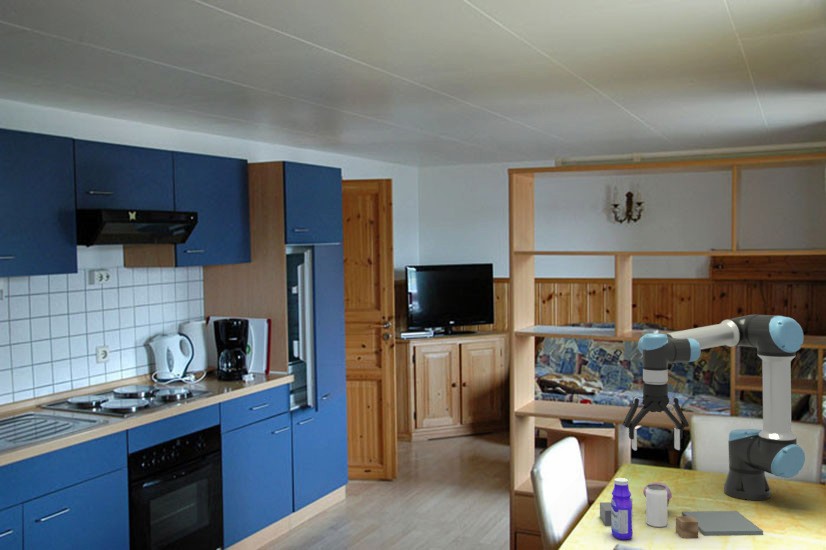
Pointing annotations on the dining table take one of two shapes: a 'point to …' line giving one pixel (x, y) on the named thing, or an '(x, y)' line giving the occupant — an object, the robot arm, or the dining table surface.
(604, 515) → the charcoal block
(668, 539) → the dining table surface
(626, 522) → the bottle
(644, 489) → the cupcake
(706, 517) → the board
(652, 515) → the can
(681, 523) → the walnut block
